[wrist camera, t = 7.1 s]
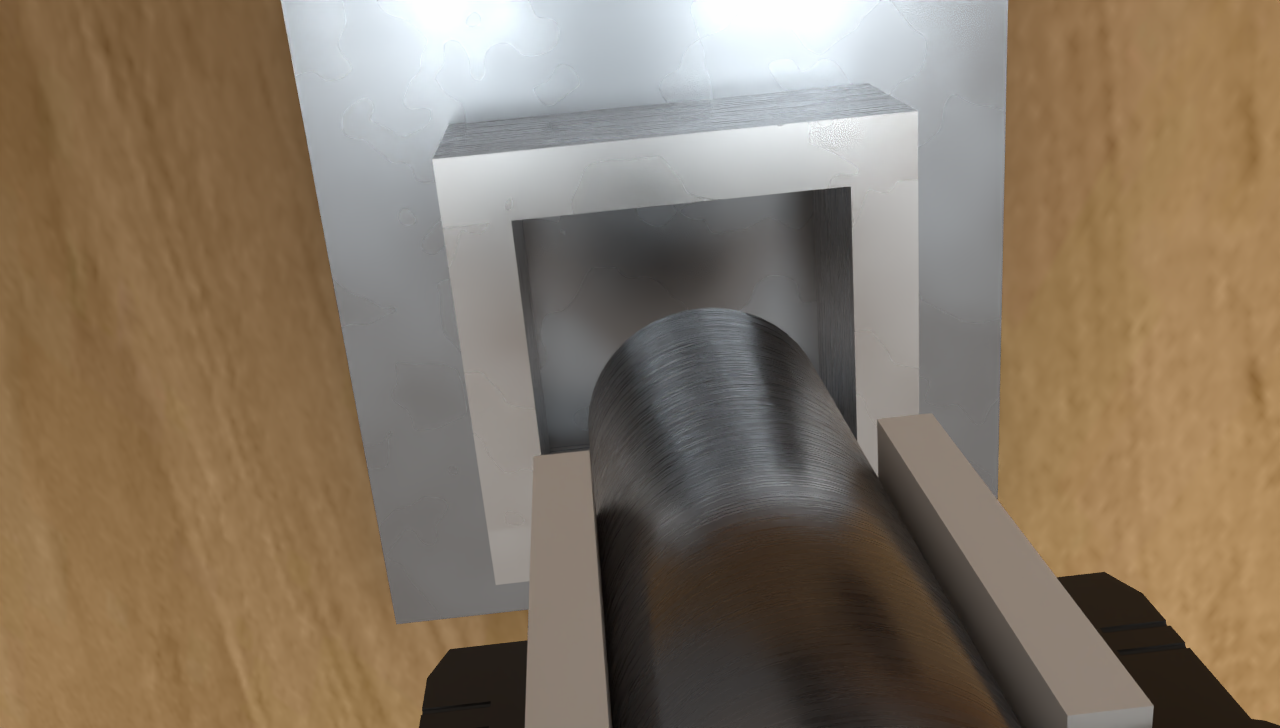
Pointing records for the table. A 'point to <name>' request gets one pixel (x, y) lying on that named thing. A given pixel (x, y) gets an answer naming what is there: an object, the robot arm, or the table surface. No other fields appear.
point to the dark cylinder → (760, 549)
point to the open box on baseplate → (639, 228)
